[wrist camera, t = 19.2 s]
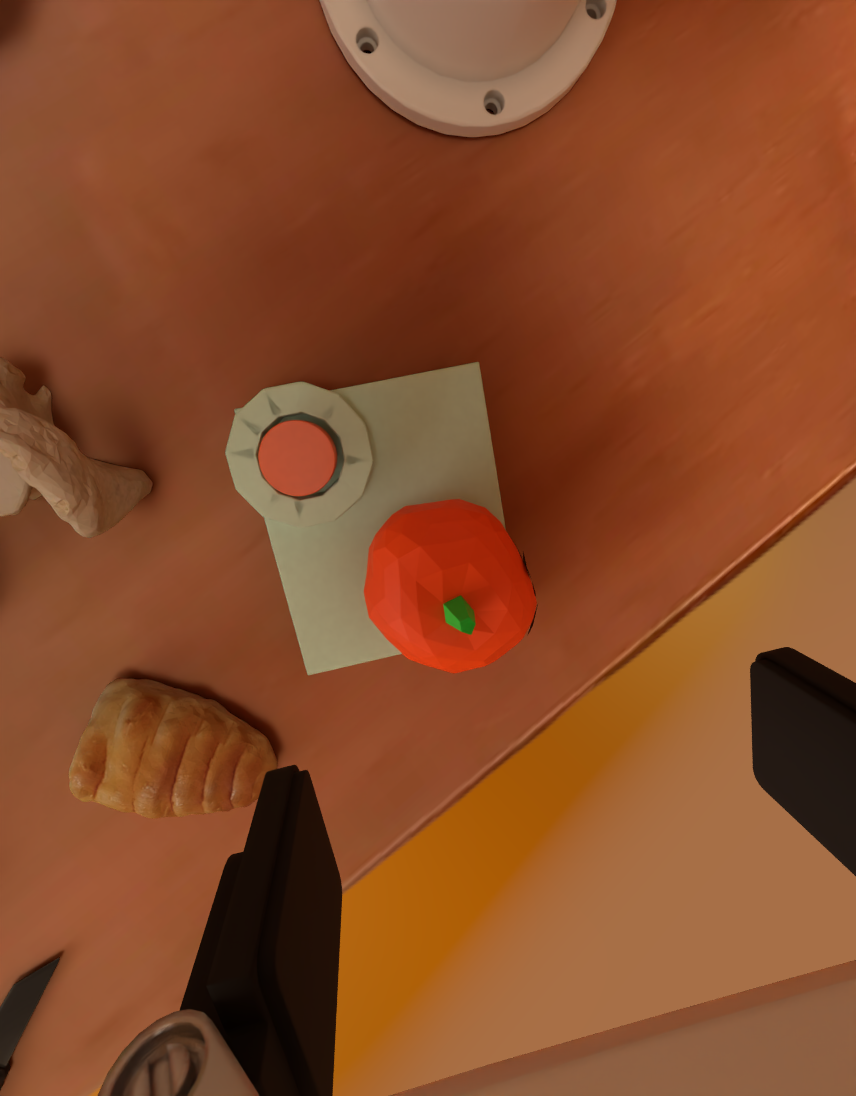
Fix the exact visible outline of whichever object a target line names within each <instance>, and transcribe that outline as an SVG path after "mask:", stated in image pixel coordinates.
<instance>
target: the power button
mask: <svg viewBox="0 0 856 1096" xmlns="http://www.w3.org/2000/svg"><path fill="white" fill-rule="evenodd" d="M258 460H259V466H260V469H261V472H262V474H263V476H264V477H265V479H266V480H267V481H268V483H269V484H270V485H271V486H273V487H274V488H275V489H277V490H278V491H280V492H282V493H284V494H287V495H291V496H307V495H310V494H313V493H315V492H317V491H319V490H320V489H322V488H323V487H324V486H325V485H326V484H327V483H328V481H329V480H330V479H331V477H332V475H333V474H334V472H335V469H336V465H337V450H336V447H335V444H334V442H333V440H332V438H331V436H330V435H329V434H328V433H327V432H326V431H325V430H324V429H323V428H322V427H320V426H318V425H317V424H315V423H312V422H309V421H304V420H288V421H284V422H281V423H279V424H277V425H275V426H274V427H272V428H271V429H270V430H269V431H268V432H267V433H266V434H265V436H264V437H263V439H262V441H261V444H260V447H259V452H258Z"/></svg>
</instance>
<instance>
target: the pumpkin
mask: <svg viewBox="0 0 856 1096" xmlns="http://www.w3.org/2000/svg"><path fill="white" fill-rule="evenodd" d="M527 571H528V569H527V566H526V561H525V557H524V553H523V559H522V557H521V555H520V553H519V552H518V550H517V548H516V546H515V545H514V543H513V541H512V540H511V538H510V536H509V535H508V533H507V532H506V530H505V528H504V527H503V525H502V523H501V522H500V521H499V520H498V519H497V518H496V517H495V516H494V515H493V514H492V513H491V512H490V511H489V510H487V509H486V508H485V507H482V506H479V505H476V504H473V503H470V502H467V501H464V500H461V499H450V500H444V501H437V502H430V503H423V504H416V505H409V506H405V507H403V508H401V509H400V510H398V511H397V512H395V513H394V514H392V515H391V516H390V518H389V519H388V520H387V521H386V522H385V523H384V524H383V526H382V527H381V528H380V529H379V531H378V532H377V533H376V534H375V536H374V539H373V541H372V543H371V545H370V547H369V553H368V563H367V573H366V580H365V586H364V596H365V602H366V606H367V611H368V615H369V618H370V619H371V621H372V622H373V623H374V624H375V625H376V627H377V628H378V629H379V630H380V632H381V633H382V634H383V635H384V636H385V638H386V639H387V640H388V641H389V642H390V643H391V644H392V645H394V646H395V647H396V648H397V649H398V650H399V651H400V652H401V653H402V654H403V655H404V656H405V657H406V658H407V659H410V660H413V661H415V662H418V663H421V664H423V665H426V666H430V667H433V668H436V669H440V670H443V671H447V672H450V673H458V672H462V671H467V670H471V669H475V668H479V667H483V666H486V665H488V664H490V663H492V662H494V661H496V660H497V659H498V658H500V657H501V656H502V655H504V654H505V653H506V652H508V651H509V650H510V649H511V648H513V647H514V646H515V645H517V644H518V643H519V642H520V641H521V640H522V638H523V637H524V635H525V633H526V632H527V630H528V628H529V626H530V624H531V626H530V629H529V632H530V630H531V628H532V626H533V622H534V618H535V614H536V611H535V609H536V610H537V608H536V604H537V602H536V598H535V590H534V587H532V584H533V583H531V581H530V578H529V575H530V574H529V575H528V573H529V572H527ZM537 606H538V605H537ZM534 613H535V614H534ZM531 622H532V623H531ZM529 632H528V634H529ZM527 636H528V635H527Z"/></svg>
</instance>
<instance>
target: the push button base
mask: <svg viewBox="0 0 856 1096" xmlns="http://www.w3.org/2000/svg"><path fill="white" fill-rule="evenodd" d="M234 411H235V416H234V420H233V424H232V428H231V431H230V435H229V439H228V443H227V447H226V450H225V452H226V453H225V454H226V458H227V461H228V464H229V468H230V471H231V475H232V478H233V482H234V485H235V489H237V491H238V492H239V493H240V494H241V495H242V496H243V497H244V498H245V499H246V500H247V501H248V502H249V503H250V504H251V505H252V506H253V507H254V508H255V509H256V510H257V511H258V512H259V513H260V514H261V515H262V516H263V517H264V520H265V523H266V527H267V530H268V534H269V538H270V541H271V545H272V548H273V552H274V556H275V559H276V563H277V566H278V570H279V574H280V577H281V581H282V584H283V588H284V592H285V595H286V599H287V602H288V606H289V610H290V613H291V617H292V621H293V624H294V628H295V631H296V635H297V639H298V642H299V646H300V649H301V653H302V657H303V660H304V664H305V667H306V671H307V674H308V675H312V674H316V673H320V672H325V671H329V670H333V669H338V668H342V667H346V666H351V665H355V664H359V663H364V662H368V661H372V660H377V659H381V658H385V657H390V656H394V655H398V654H402V653H401V652H400V651H399V650H398V649H397V648H396V647H395V646H394V645H392V644H391V643H390V642H389V641H388V640H387V639H386V638H385V636H384V635H383V634H382V633H381V632H380V630H379V629H378V628H377V627H376V625H375V624H374V623H373V622H372V621H371V619H370V618H369V615H368V611H367V606H366V602H365V596H364V586H365V580H366V573H367V563H368V553H369V547H370V545H371V543H372V541H373V539H374V536H375V534H376V533H377V532H378V531H379V529H380V528H381V527H382V526H383V524H384V523H385V522H386V521H387V520H388V519H389V518H390V516H391V515H392V514H394V513H395V512H397V511H398V510H400V509H401V508H403V507H405V506H409V505H416V504H423V503H430V502H437V501H444V500H450V499H461V500H464V501H467V502H470V503H473V504H476V505H479V506H482V507H485V508H486V509H487V510H489V511H490V512H491V513H492V514H493V515H494V516H495V517H496V518H497V519H498V520H499V521H500V522H501V523H502V525H503V527H504V528H505V530H506V527H505V521H504V515H503V509H502V502H501V496H500V490H499V484H498V477H497V471H496V465H495V459H494V452H493V446H492V440H491V433H490V427H489V421H488V415H487V408H486V402H485V396H484V390H483V383H482V377H481V371H480V364H479V362H474V363H469V364H463V365H458V366H453V367H448V368H443V369H438V370H433V371H427V372H422V373H417V374H412V375H407V376H402V377H397V378H391V379H386V380H381V381H376V382H371V383H366V384H361V385H355V386H350V387H345V388H340V389H335V390H330V391H329V390H326V389H323V388H320V387H317V386H315V385H312V384H309V383H306V382H294V383H289V384H284V385H279V386H274V387H268V388H265V389H262V390H261V391H260V392H259V393H258V394H257V395H256V396H255V397H253V398H252V399H251V400H250V401H249V402H248V403H247V404H246V405H245V406H244V407H242V408H237V409H235V410H234ZM288 420H304V421H309V422H312V423H315V424H317V425H318V426H320V427H322V428H323V429H324V430H325V431H326V432H327V433H328V434H329V435H330V436H331V438H332V440H333V442H334V444H335V447H336V450H337V465H336V469H335V472H334V474H333V475H332V477H331V479H330V480H329V481H328V483H327V484H326V485H325V486H324V487H323V488H322V489H320V490H319V491H317V492H315V493H313V494H310V495H307V496H291V495H287V494H284V493H282V492H280V491H278V490H277V489H275V488H274V487H273V486H271V485H270V484H269V483H268V481H267V480H266V479H265V477H264V476H263V474H262V472H261V469H260V466H259V460H258V452H259V447H260V444H261V441H262V439H263V437H264V436H265V434H266V433H267V432H268V431H269V430H270V429H271V428H272V427H274V426H275V425H277V424H279V423H281V422H284V421H288Z"/></svg>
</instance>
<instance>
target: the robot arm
mask: <svg viewBox="0 0 856 1096" xmlns="http://www.w3.org/2000/svg"><path fill="white" fill-rule="evenodd" d="M319 1H320V3H321V6H322V9H323V12H324V14H325V17H326V20H327V23H328V25H329V28H330V31H331V33H332V35H333V37H334V39H335V40H336V42H337V44H338V46H339V48H340V49H341V51H342V53H343V55H344V57H345V58H346V60H347V62H348V63H349V65H350V66H351V67H352V68H353V70H354V71H355V72H356V74H357V75H358V76H359V77H360V79H361V80H362V81H363V82H364V84H365V85H366V86H367V87H368V89H369V90H371V91H372V92H373V93H374V94H375V95H376V96H377V97H378V98H380V99H381V100H382V101H383V102H384V103H385V104H386V105H387V106H389V107H390V108H391V109H392V110H394V111H395V112H397V113H399V114H400V115H402V116H404V117H405V118H407V119H409V120H410V121H412V122H414V123H415V124H417V125H419V126H422V127H425V128H428V129H431V130H434V131H437V132H440V133H443V134H447V135H455V136H464V137H481V136H491V135H499V134H502V133H505V132H508V131H511V130H514V129H517V128H520V127H522V126H525V125H527V124H528V123H530V122H531V121H533V120H535V119H536V118H538V117H540V116H541V115H543V114H545V113H546V112H548V111H549V110H550V109H551V108H552V107H553V106H554V105H555V104H557V103H558V102H559V101H560V100H561V99H562V98H563V97H564V96H565V95H566V94H567V93H568V92H569V91H570V90H571V88H572V87H573V86H574V84H575V83H576V82H577V80H578V79H579V77H580V76H581V75H582V73H583V72H584V71H585V69H586V68H587V66H588V64H589V63H590V61H591V59H592V57H593V56H594V54H595V52H596V50H597V49H598V47H599V45H600V44H601V42H602V40H603V38H604V36H605V33H606V31H607V28H608V26H609V24H610V21H611V19H612V16H613V13H614V10H615V6H616V1H617V0H319ZM364 50H369V51H371V52H372V53H370V54H368V53H363V52H362V51H364ZM486 109H491V110H492V111H493V112H494V114H495V115H494V114H490V113H489V112H488V111H487V110H486ZM750 678H751V713H752V714H751V717H752V752H753V771H754V775H755V778H756V780H757V781H758V783H759V785H760V786H761V787H762V788H763V789H764V790H765V791H766V792H767V793H768V794H769V795H770V796H771V797H772V798H773V799H775V801H777V802H778V803H779V804H780V805H781V806H782V807H783V808H784V809H785V810H786V811H787V812H788V813H789V814H790V815H791V816H792V817H793V818H795V819H796V820H797V821H798V822H799V823H800V824H801V825H802V826H803V827H804V828H805V829H806V830H807V831H808V832H809V833H810V834H811V835H813V836H814V837H815V838H816V839H817V840H818V841H819V842H820V843H821V844H822V845H823V846H824V847H825V848H826V849H827V850H828V851H829V852H831V853H832V854H833V855H834V856H835V857H836V858H837V859H838V860H839V861H840V862H841V863H842V864H843V865H844V866H845V867H847V868H848V869H849V870H850V871H851V872H852V873H853V874H854V875H855V876H856V683H854V682H853V681H851V680H849V679H847V678H845V677H844V676H842V675H840V674H838V673H836V672H835V671H833V670H831V669H829V668H827V667H825V666H824V665H822V664H820V663H818V662H816V661H814V660H813V659H811V658H809V657H807V656H805V655H804V654H802V653H800V652H798V651H796V650H795V649H792V648H789V647H784V648H779V649H775V650H771V651H767V652H763V653H760V654H758V655H757V657H756V661H755V662H754V663H752V665H751V668H750ZM341 907H342V886H341V879H340V874H339V871H338V867H337V864H336V861H335V857H334V854H333V851H332V847H331V844H330V841H329V837H328V834H327V831H326V827H325V824H324V821H323V817H322V814H321V811H320V807H319V804H318V801H317V797H316V794H315V791H314V787H313V784H312V781H311V777H310V774H309V772H308V770H304V771H299V769H298V767H297V766H296V765H292V766H287V767H283V768H279V769H275V770H271V771H268V772H266V774H265V777H264V780H263V784H262V787H261V791H260V794H259V798H258V802H257V805H256V809H255V812H254V816H253V820H252V823H251V827H250V830H249V834H248V838H247V841H246V845H245V848H244V852H241V853H236V854H232V855H231V856H230V857H229V858H228V860H227V862H226V864H225V867H224V870H223V873H222V876H221V879H220V883H219V886H218V889H217V892H216V895H215V899H214V902H213V905H212V908H211V911H210V915H209V918H208V921H207V924H206V927H205V931H204V934H203V937H202V940H201V943H200V947H199V950H198V953H197V956H196V960H195V963H194V966H193V969H192V972H191V976H190V979H189V982H188V985H187V988H186V992H185V995H184V998H183V1001H182V1004H181V1008H180V1011H176V1012H173V1013H171V1014H169V1015H167V1016H164V1017H162V1018H160V1019H158V1020H156V1021H155V1022H154V1023H152V1024H151V1025H150V1026H149V1027H147V1028H146V1029H145V1030H143V1031H142V1032H141V1033H139V1034H138V1035H137V1036H136V1037H135V1039H134V1040H133V1041H132V1042H131V1043H130V1044H129V1045H128V1046H127V1047H126V1048H125V1049H124V1050H123V1051H122V1053H121V1054H120V1056H119V1057H118V1059H117V1060H116V1062H115V1063H114V1064H113V1066H112V1067H111V1069H110V1070H109V1072H108V1074H107V1076H106V1078H105V1080H104V1083H103V1085H102V1087H101V1089H100V1091H99V1094H98V1096H332V1093H333V1072H334V1052H335V1051H334V1050H335V1031H336V1011H337V990H338V988H337V987H338V970H339V948H340V928H341ZM390 1096H856V960H854V961H850V962H847V963H843V964H839V965H836V966H832V967H829V968H825V969H821V970H818V971H815V972H811V973H807V974H804V975H800V976H797V977H793V978H789V979H786V980H783V981H779V982H775V983H772V984H768V985H765V986H761V987H758V988H754V989H750V990H747V991H744V992H740V993H737V994H733V995H729V996H726V997H722V998H719V999H715V1000H712V1001H708V1002H704V1003H701V1004H697V1005H694V1006H690V1007H687V1008H683V1009H680V1010H676V1011H673V1012H669V1013H666V1014H662V1015H659V1016H655V1017H652V1018H648V1019H645V1020H641V1021H638V1022H634V1023H631V1024H627V1025H624V1026H620V1027H617V1028H613V1029H610V1030H607V1031H603V1032H600V1033H596V1034H593V1035H589V1036H586V1037H582V1038H579V1039H576V1040H572V1041H569V1042H565V1043H562V1044H558V1045H555V1046H551V1047H548V1048H545V1049H541V1050H538V1051H534V1052H531V1053H528V1054H524V1055H521V1056H517V1057H513V1058H510V1059H507V1060H503V1061H500V1062H497V1063H493V1064H489V1065H486V1066H483V1067H480V1068H477V1069H473V1070H470V1071H467V1072H464V1073H460V1074H457V1075H454V1076H451V1077H448V1078H445V1079H441V1080H439V1081H435V1082H432V1083H429V1084H426V1085H423V1086H419V1087H416V1088H413V1089H409V1090H406V1091H403V1092H400V1093H397V1094H393V1095H390Z"/></svg>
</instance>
